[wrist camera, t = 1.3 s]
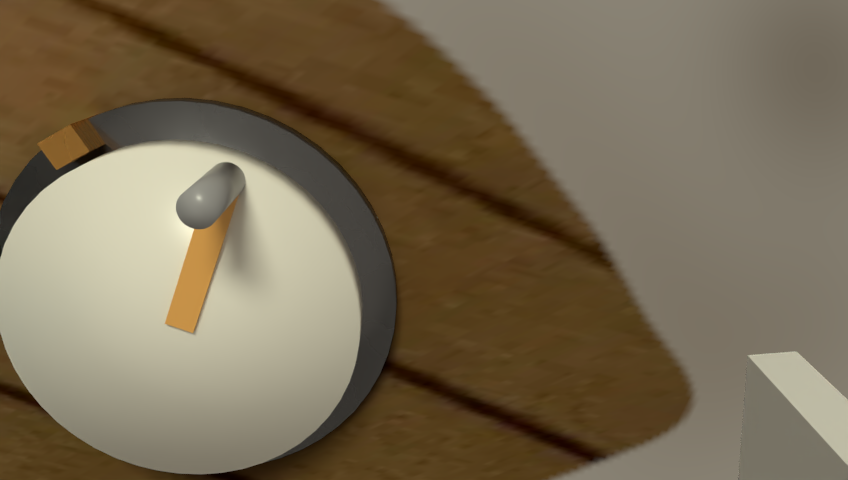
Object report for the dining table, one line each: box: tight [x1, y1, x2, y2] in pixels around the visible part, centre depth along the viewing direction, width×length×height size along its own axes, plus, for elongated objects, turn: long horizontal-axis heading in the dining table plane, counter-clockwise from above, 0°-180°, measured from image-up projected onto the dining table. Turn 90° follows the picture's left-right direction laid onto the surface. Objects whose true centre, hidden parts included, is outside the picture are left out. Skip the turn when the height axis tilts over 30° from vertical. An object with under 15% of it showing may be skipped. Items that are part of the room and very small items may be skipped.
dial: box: [0, 139, 363, 474], centre depth 27 cm, size 15×15×6 cm
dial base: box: [0, 98, 397, 462], centre depth 30 cm, size 18×18×2 cm
